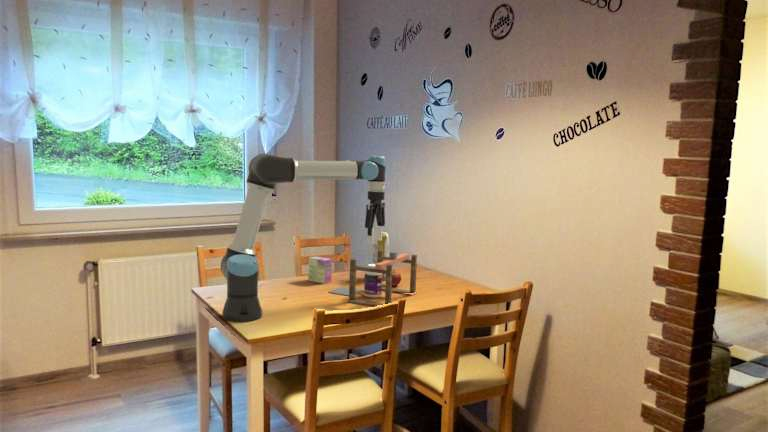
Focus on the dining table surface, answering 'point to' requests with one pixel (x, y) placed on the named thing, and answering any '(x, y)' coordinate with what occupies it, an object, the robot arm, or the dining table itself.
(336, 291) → the coaster
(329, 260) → the box
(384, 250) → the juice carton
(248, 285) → the robot arm
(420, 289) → the dining table surface
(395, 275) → the apple
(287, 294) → the dining table surface
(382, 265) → the bar
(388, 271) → the frame
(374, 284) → the pill bottle
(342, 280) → the dining table surface
